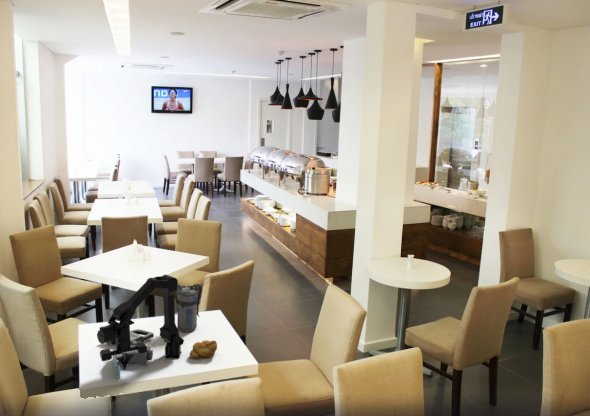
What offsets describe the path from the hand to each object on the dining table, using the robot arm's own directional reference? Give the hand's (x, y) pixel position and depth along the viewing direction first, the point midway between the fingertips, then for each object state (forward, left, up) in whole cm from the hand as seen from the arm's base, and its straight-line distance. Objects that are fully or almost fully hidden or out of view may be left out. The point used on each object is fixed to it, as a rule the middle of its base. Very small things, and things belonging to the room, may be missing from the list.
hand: (124, 369), depth 217 cm
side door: (+5, -2, -2) cm, 6 cm away
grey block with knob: (+1, -13, -3) cm, 13 cm away
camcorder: (+7, -32, -3) cm, 33 cm away
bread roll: (-30, -21, -3) cm, 37 cm away
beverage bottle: (-18, -51, -3) cm, 54 cm away
